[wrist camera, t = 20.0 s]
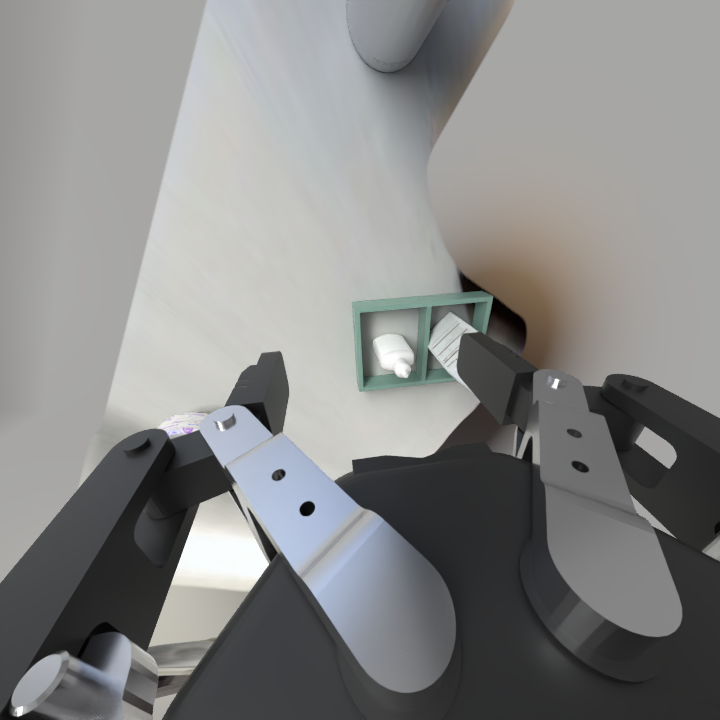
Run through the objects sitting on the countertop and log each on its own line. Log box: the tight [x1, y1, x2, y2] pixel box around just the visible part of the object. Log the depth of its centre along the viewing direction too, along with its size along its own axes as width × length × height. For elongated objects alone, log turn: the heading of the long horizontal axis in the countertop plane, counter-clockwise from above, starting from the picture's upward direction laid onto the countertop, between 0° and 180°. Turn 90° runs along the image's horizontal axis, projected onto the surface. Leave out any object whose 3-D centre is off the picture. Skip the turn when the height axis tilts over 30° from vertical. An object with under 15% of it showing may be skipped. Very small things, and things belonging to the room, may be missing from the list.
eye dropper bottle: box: [373, 334, 414, 378], centre depth 43 cm, size 4×6×12 cm
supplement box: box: [428, 312, 478, 395], centre depth 44 cm, size 7×7×13 cm
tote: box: [352, 291, 493, 392], centre depth 48 cm, size 16×23×4 cm
